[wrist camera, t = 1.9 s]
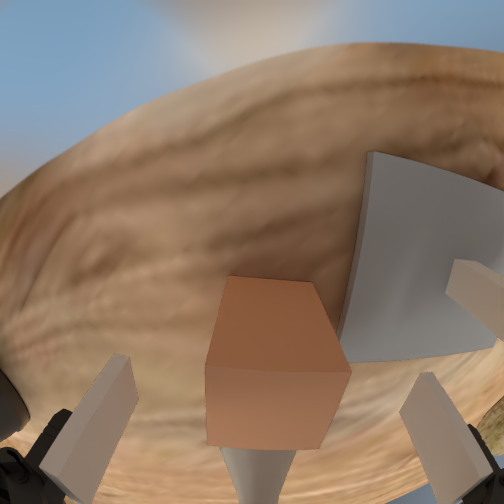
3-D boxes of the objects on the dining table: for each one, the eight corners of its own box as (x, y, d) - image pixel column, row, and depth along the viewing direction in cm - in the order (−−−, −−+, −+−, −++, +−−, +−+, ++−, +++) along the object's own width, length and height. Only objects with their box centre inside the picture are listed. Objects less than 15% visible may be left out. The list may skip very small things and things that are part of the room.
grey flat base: (330, 354, 19) (367, 469, 9) (367, 152, 15) (486, 141, 5) (487, 342, 19) (542, 398, 9) (526, 203, 15) (605, 229, 5)
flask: (255, 413, 21) (253, 516, 11) (311, 440, 22) (324, 525, 12) (206, 443, 22) (192, 527, 13) (261, 466, 24) (260, 541, 14)
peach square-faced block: (224, 344, 19) (207, 445, 10) (228, 275, 17) (204, 365, 9) (299, 349, 19) (318, 448, 10) (312, 282, 17) (351, 371, 9)
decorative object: (477, 393, 26) (471, 455, 19) (533, 376, 19) (534, 440, 12) (478, 411, 29) (471, 463, 22) (526, 398, 22) (524, 451, 15)
